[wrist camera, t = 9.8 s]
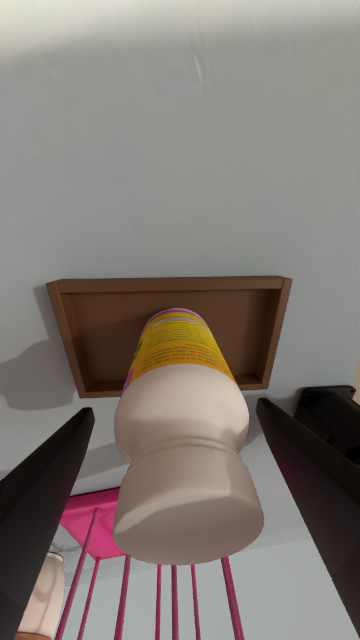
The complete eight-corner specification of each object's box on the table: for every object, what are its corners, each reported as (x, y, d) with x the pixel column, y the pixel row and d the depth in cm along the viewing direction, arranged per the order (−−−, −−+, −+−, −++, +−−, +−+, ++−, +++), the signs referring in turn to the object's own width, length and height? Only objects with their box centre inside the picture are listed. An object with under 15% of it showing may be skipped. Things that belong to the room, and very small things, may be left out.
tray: (278, 275, 16) (293, 278, 14) (258, 376, 20) (267, 389, 18) (61, 279, 15) (45, 283, 13) (88, 384, 19) (79, 398, 17)
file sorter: (225, 521, 33) (270, 737, 18) (98, 545, 33) (43, 773, 19) (214, 468, 26) (269, 735, 12) (57, 498, 27) (-76, 789, 12)
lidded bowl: (85, 567, 37) (52, 689, 26) (26, 575, 37) (-30, 701, 26) (65, 541, 32) (15, 677, 22) (-4, 550, 32) (-86, 691, 22)
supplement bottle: (138, 307, 16) (39, 479, 4) (209, 303, 16) (327, 455, 4) (146, 367, 18) (101, 586, 6) (208, 363, 18) (278, 567, 7)
